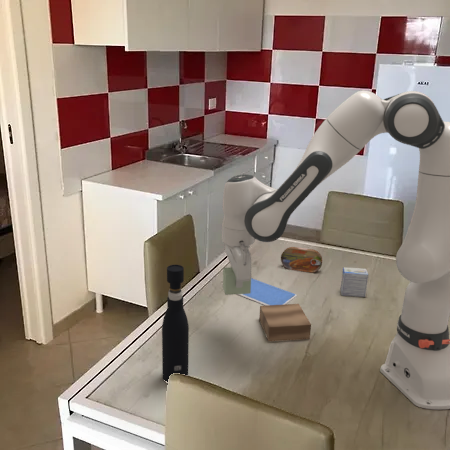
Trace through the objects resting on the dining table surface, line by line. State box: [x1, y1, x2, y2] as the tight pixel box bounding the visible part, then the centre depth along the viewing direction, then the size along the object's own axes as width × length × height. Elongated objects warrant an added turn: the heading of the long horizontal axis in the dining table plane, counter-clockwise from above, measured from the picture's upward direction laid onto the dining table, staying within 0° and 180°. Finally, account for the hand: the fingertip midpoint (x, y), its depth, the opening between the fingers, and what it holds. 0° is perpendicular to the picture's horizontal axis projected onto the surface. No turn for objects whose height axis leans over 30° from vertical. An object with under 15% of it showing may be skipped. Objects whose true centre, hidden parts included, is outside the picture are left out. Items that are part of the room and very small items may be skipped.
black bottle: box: [161, 264, 190, 382], centre depth 124 cm, size 6×6×30 cm
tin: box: [280, 246, 323, 274], centre depth 189 cm, size 15×3×8 cm, turn 73°
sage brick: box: [222, 266, 251, 296], centre depth 142 cm, size 4×7×6 cm, turn 99°
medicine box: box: [340, 266, 369, 298], centre depth 172 cm, size 8×4×9 cm, turn 84°
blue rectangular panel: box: [237, 277, 298, 306], centre depth 172 cm, size 19×13×1 cm, turn 52°
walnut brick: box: [258, 303, 312, 342], centre depth 151 cm, size 12×12×5 cm
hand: (236, 281), depth 142 cm, fingers closed on sage brick, 4 cm apart
